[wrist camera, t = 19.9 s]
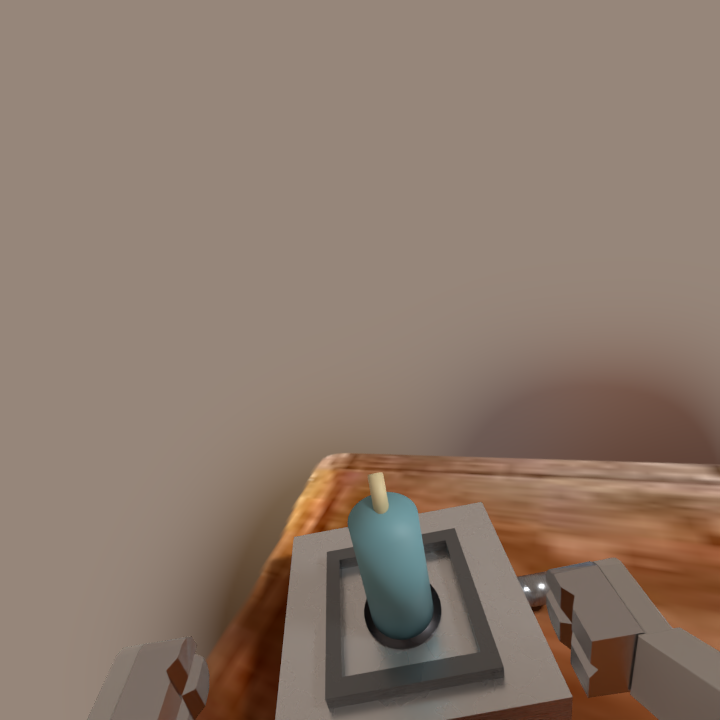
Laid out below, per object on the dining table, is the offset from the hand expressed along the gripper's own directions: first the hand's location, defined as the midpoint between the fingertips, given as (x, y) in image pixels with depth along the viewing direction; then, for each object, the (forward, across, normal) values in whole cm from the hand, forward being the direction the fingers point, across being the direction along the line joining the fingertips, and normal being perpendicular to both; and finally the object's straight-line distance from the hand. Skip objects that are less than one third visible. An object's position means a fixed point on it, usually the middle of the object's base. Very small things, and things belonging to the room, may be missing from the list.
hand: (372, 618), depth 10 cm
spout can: (+17, 0, +24) cm, 29 cm away
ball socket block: (+18, -2, +28) cm, 33 cm away
